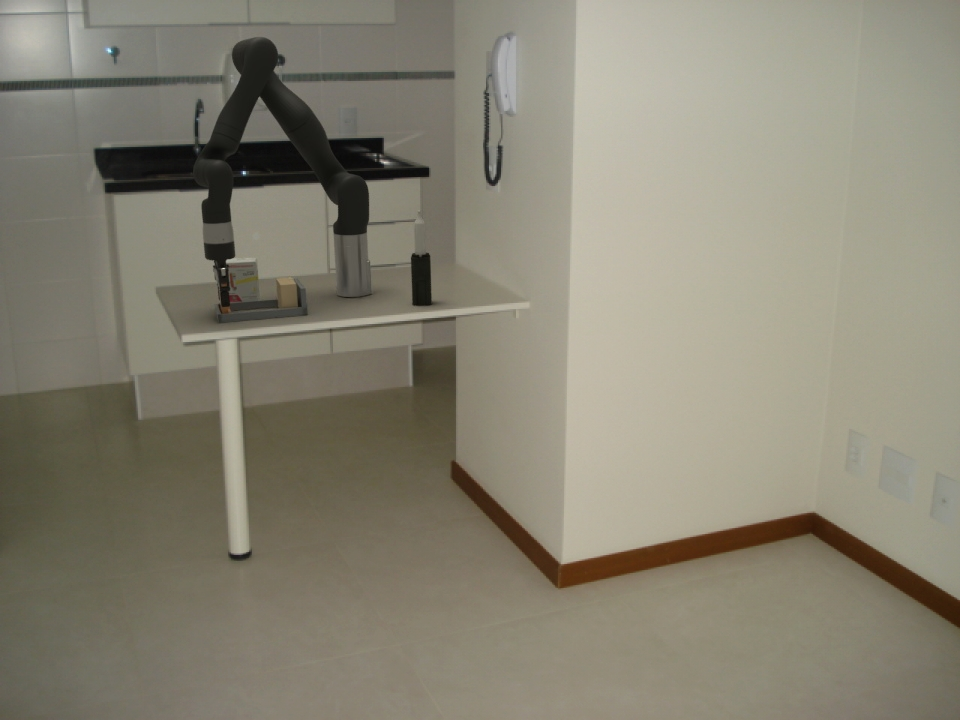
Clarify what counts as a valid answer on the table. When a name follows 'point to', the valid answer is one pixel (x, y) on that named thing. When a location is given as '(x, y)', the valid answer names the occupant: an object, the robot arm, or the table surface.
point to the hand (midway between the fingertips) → (224, 303)
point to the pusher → (224, 309)
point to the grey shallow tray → (263, 304)
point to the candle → (420, 266)
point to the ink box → (243, 279)
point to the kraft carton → (286, 293)
